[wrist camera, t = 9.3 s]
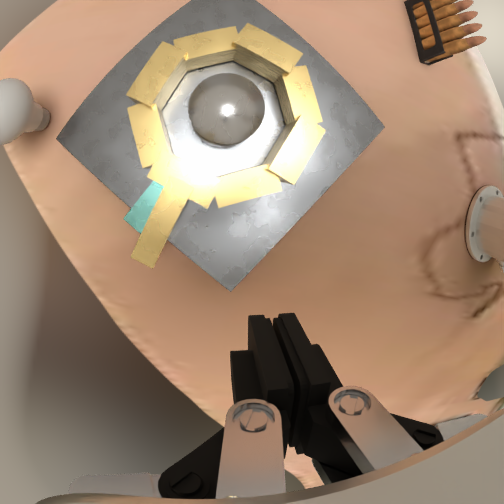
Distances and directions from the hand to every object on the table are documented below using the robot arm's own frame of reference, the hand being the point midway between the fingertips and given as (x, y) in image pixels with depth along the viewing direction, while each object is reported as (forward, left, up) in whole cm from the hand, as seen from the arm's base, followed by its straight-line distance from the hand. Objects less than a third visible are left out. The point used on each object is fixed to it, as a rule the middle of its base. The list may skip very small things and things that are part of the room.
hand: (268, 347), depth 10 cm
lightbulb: (+24, +4, -20) cm, 32 cm away
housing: (+8, -8, -20) cm, 23 cm away
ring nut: (+7, -5, -17) cm, 20 cm away
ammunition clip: (+1, -38, -20) cm, 43 cm away
